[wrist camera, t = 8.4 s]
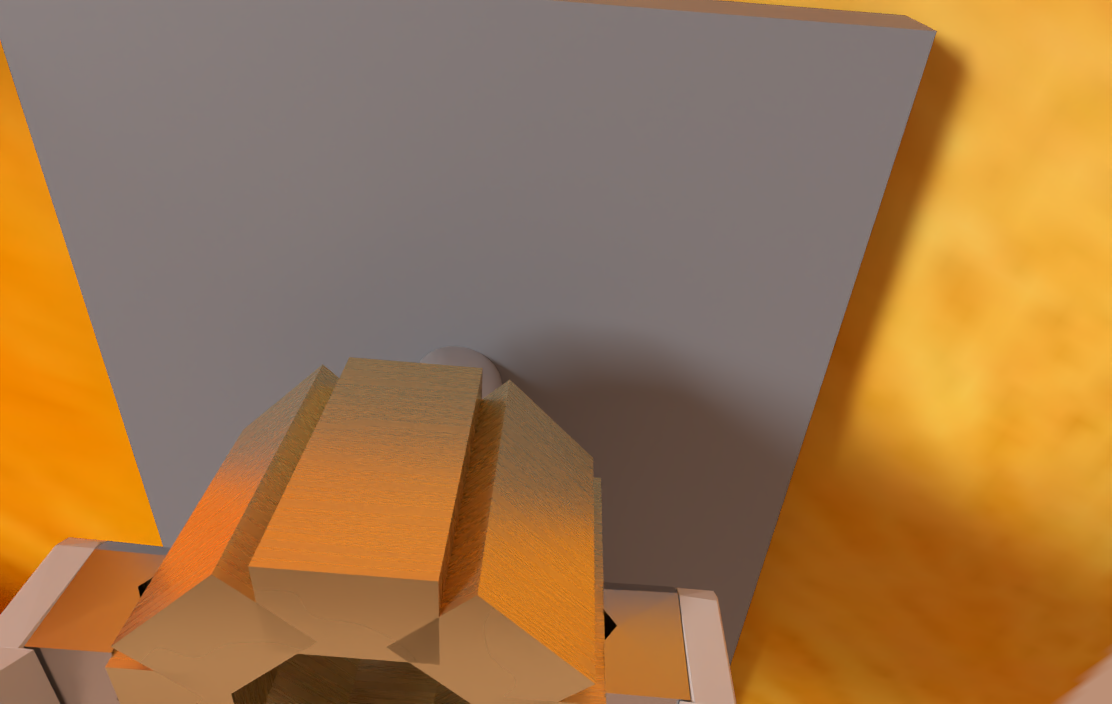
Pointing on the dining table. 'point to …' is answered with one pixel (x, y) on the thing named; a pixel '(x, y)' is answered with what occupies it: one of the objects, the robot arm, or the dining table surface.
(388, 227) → the gear board
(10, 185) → the dining table surface
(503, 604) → the brass gear
